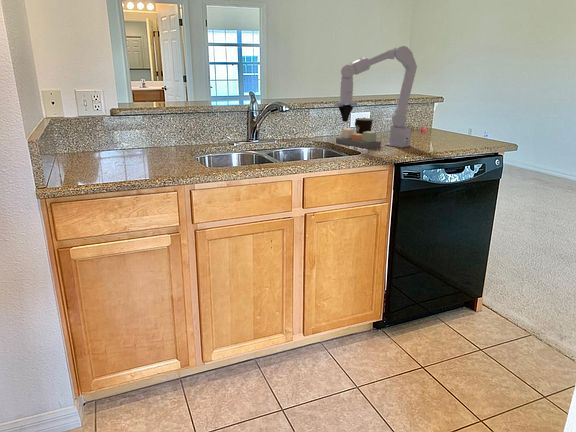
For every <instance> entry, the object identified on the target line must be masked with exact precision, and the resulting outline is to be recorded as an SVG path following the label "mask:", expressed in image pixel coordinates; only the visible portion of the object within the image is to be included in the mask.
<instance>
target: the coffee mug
mask: <svg viewBox="0 0 576 432" xmlns="http://www.w3.org/2000/svg"><path fill="white" fill-rule="evenodd" d="M373 120H374V119H373V118H369V117H367V118H364V117H362V118H361V117H357V118H355V121H354V126H355V134H357V133H358V134H363V132H367V131H371V130H372V126H373V122H374V121H373ZM371 132H372V131H371Z"/></svg>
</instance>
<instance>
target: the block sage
mask: <svg viewBox="0 0 576 432" xmlns="http://www.w3.org/2000/svg"><path fill="white" fill-rule="evenodd" d="M362 141H364V142H375V141H377V131H367V132H363V137H362Z"/></svg>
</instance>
